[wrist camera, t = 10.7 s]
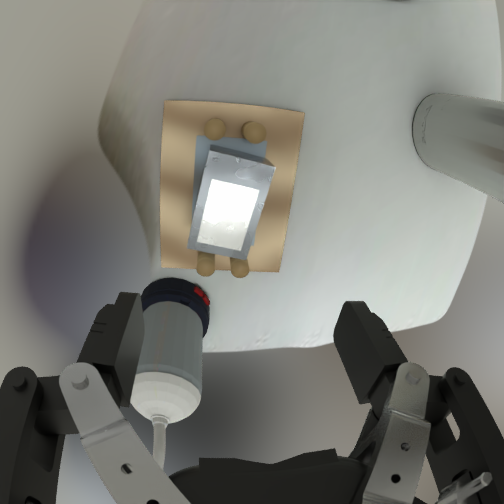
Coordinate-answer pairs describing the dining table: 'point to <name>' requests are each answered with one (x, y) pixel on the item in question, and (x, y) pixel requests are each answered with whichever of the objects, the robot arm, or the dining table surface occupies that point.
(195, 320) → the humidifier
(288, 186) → the wooden peg board
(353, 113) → the dining table surface
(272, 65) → the dining table surface
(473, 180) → the robot arm
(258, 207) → the block
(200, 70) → the dining table surface
